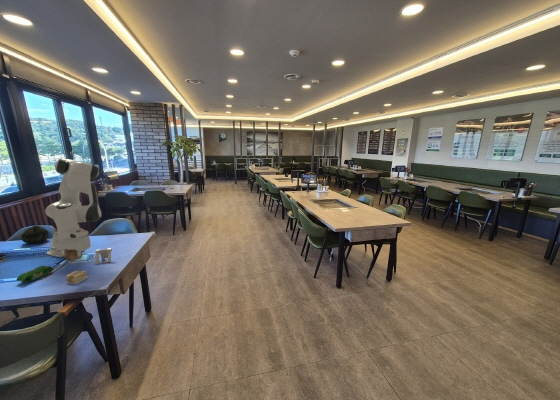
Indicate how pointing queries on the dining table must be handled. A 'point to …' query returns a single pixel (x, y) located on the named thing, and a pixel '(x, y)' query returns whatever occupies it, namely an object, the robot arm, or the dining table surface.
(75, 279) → the oak base block
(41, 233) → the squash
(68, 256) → the walnut cube
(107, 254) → the portable electronic device stand
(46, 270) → the snack package
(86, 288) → the dining table surface
